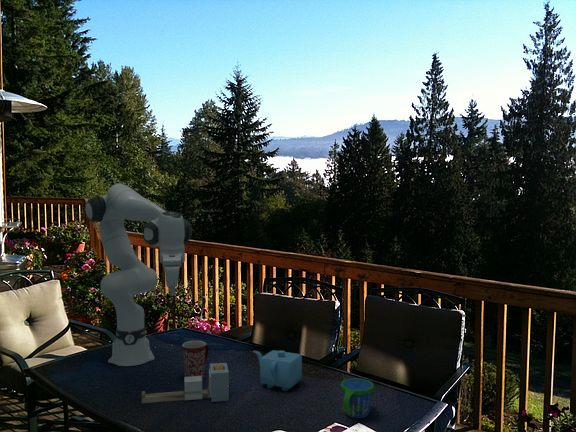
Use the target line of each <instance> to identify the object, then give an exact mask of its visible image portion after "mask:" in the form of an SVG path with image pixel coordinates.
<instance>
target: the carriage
mask: <svg viewBox="0 0 576 432" xmlns="http://www.w3.org/2000/svg"><path fill="white" fill-rule="evenodd" d="M183 379H184V391H185V400H184V401H193V400H203V399H202V390H203V379H202V376H191V377H185V376H184V378H183Z"/></svg>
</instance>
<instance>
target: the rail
mask: <svg viewBox="0 0 576 432" xmlns="http://www.w3.org/2000/svg"><path fill="white" fill-rule="evenodd" d="M204 399H211V397H210V388H209V386H207V389H202V399H201V400H204ZM174 401H175V402H176V401H178V402H179V401H186V400H185V390H181V391H169V392H168V391H167V392H155V393H153V392H152V393H146V391H145V390H144V391H143V390H142V391H141V404H151V403H163V402H174Z"/></svg>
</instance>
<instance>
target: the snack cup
mask: <svg viewBox="0 0 576 432" xmlns="http://www.w3.org/2000/svg"><path fill="white" fill-rule="evenodd" d="M374 385H375V384H373V382H372V381H370V380H367V379H364V378H359V377H351V378H346V379H344V380H343V381H341V383H340V389H341V391H342V396H343V397H342V398H343V399H342V400H343V404H342V410H343V412H344V413H345V414H346V415H347V416H348V417H350V418H351V419H365V418H366V417H368V415H369V414H370V413H369V412H370V408H371V402H372V396H373V395H372V394H373V391H374V389H375V386H374Z"/></svg>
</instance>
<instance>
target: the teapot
mask: <svg viewBox="0 0 576 432" xmlns="http://www.w3.org/2000/svg"><path fill="white" fill-rule="evenodd" d="M252 352H253V354H255V355H256V357H257V359H258V365H259V383H260V384H262V385H266V388H267V389H273V388H274V387H279V388H281V391H283V392H288V391H289V390H290V389H292V388H293V387H294V386H295V385H297V384H298V383H299V382H300V381H301V380H302V379H303V373H302V372H303V355H302V354H301V353H294V352H286V350H271V351H269V352H268V353H266V354H264V355H262V353H261V352H260V351H257V350H253V351H252Z"/></svg>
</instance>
